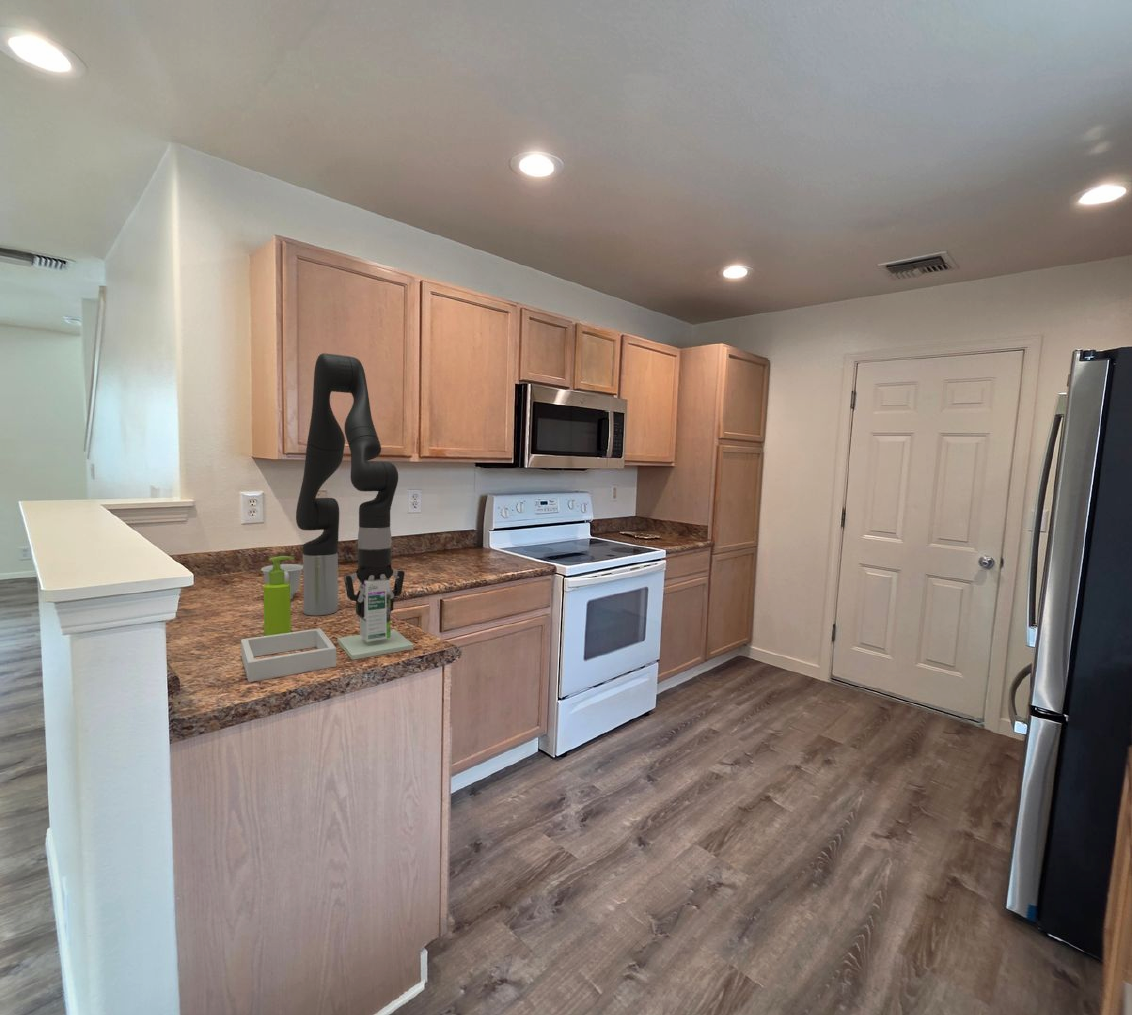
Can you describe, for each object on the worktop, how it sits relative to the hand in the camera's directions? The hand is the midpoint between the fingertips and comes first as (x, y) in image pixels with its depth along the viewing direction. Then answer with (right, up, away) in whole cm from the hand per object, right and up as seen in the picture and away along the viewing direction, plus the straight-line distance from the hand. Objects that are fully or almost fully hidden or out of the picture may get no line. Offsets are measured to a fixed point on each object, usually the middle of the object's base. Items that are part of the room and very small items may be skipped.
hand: (374, 614), depth 130 cm
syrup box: (0, -6, 0) cm, 6 cm away
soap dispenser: (-26, -7, +6) cm, 27 cm away
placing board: (0, -8, +1) cm, 8 cm away
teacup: (-43, -3, +40) cm, 59 cm away
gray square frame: (-15, -8, -11) cm, 20 cm away
